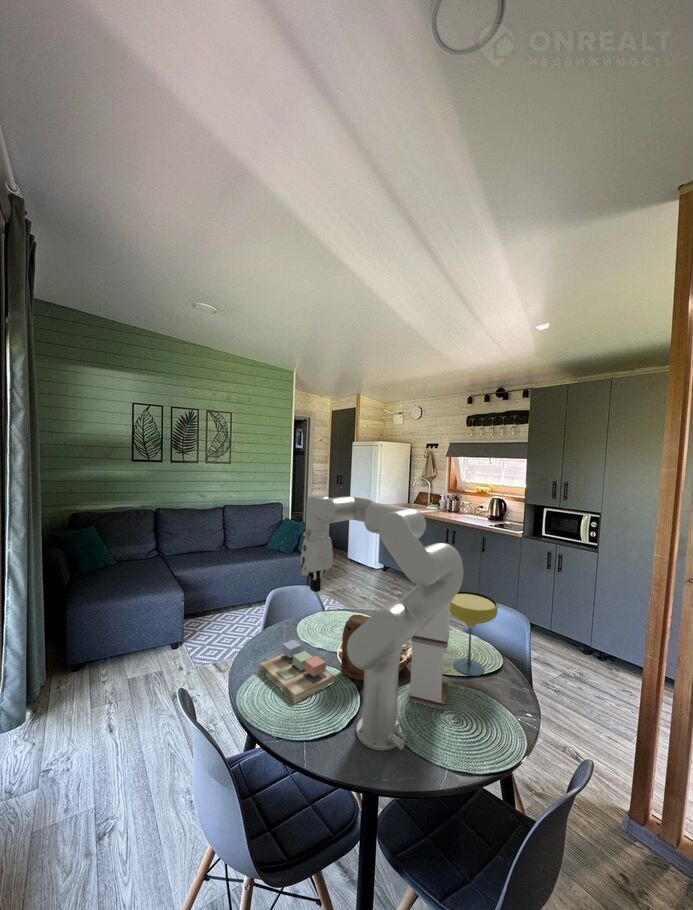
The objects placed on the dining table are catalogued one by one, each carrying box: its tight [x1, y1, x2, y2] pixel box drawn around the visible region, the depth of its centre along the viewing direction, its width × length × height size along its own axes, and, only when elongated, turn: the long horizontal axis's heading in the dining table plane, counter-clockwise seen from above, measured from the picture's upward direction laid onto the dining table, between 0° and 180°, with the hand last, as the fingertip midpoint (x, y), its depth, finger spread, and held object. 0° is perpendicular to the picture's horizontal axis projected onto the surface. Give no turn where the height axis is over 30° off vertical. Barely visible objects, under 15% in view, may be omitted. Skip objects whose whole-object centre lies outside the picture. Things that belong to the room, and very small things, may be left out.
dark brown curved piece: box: [340, 614, 371, 681], centre depth 131 cm, size 11×8×20 cm
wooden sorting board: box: [259, 650, 336, 703], centre depth 128 cm, size 22×16×3 cm
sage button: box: [293, 650, 314, 670], centre depth 130 cm, size 5×5×3 cm
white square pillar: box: [409, 603, 451, 710], centre depth 121 cm, size 11×11×35 cm
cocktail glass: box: [450, 591, 499, 677], centre depth 138 cm, size 18×18×25 cm
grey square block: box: [281, 639, 303, 658], centre depth 135 cm, size 5×5×3 cm
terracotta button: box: [305, 655, 327, 677], centre depth 125 cm, size 5×5×3 cm
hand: (315, 590), depth 120 cm, fingers closed
